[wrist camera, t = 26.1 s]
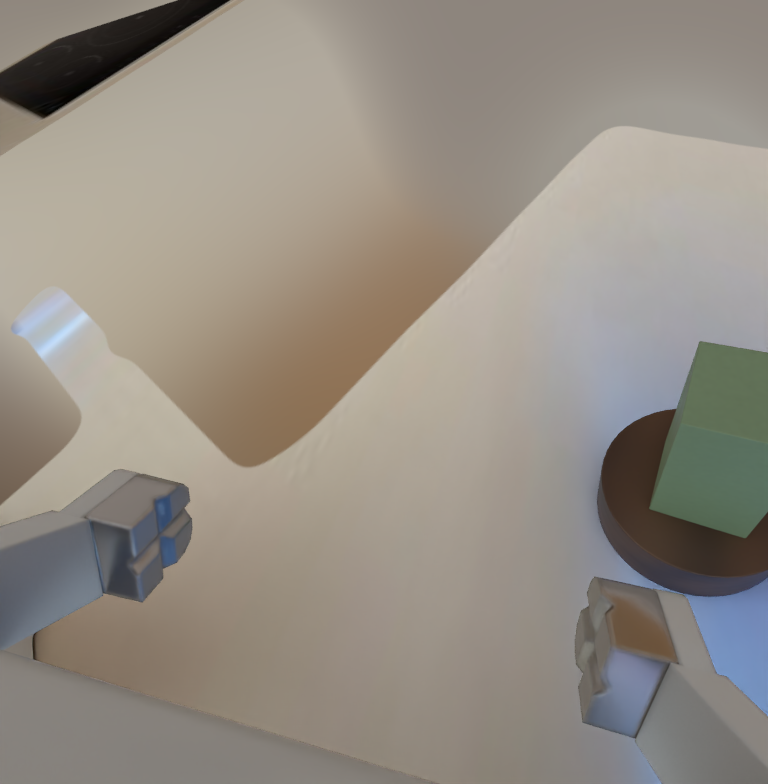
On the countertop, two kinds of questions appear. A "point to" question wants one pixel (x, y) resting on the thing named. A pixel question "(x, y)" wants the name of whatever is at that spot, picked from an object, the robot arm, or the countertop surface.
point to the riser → (670, 523)
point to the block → (718, 443)
